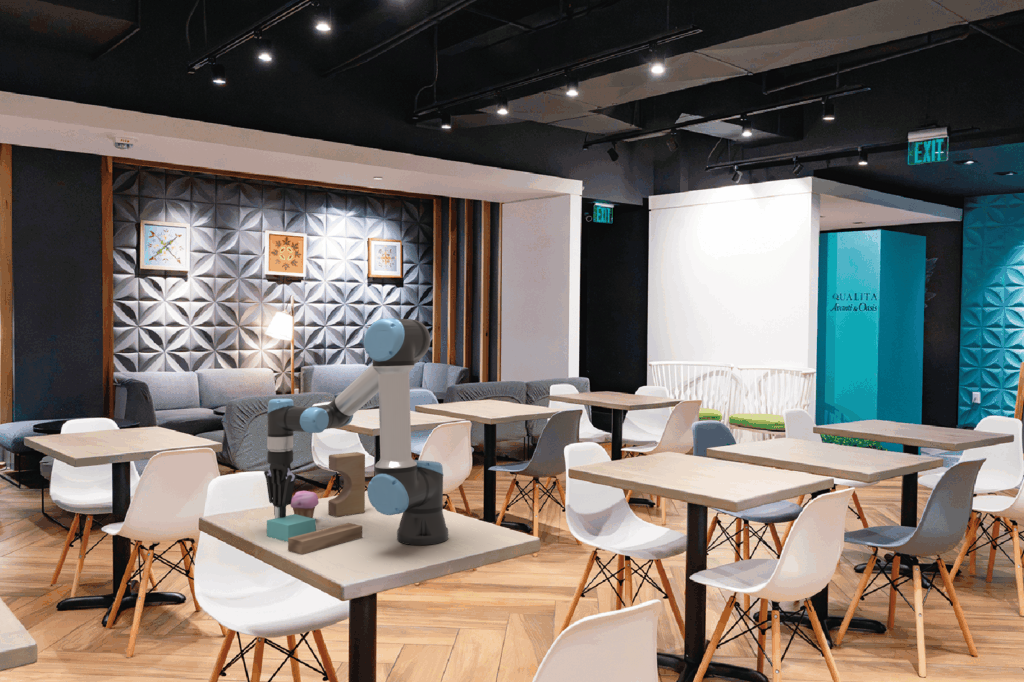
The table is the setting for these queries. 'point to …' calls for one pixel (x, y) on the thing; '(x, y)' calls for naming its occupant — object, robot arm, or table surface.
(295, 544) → the walnut board
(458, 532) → the table surface
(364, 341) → the robot arm
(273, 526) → the teal block
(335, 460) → the decorative block
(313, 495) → the cupcake
